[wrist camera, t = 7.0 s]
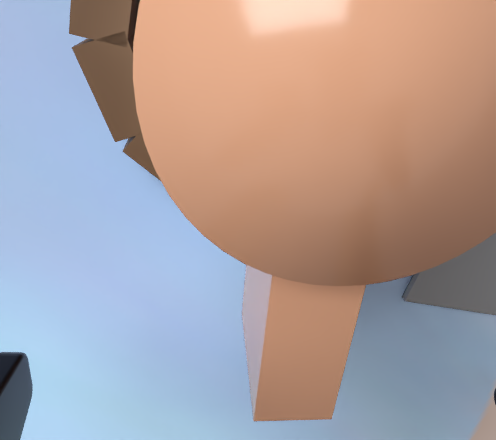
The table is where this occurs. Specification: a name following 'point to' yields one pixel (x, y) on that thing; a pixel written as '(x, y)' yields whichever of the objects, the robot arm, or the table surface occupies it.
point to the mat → (459, 281)
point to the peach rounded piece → (320, 158)
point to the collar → (111, 67)
